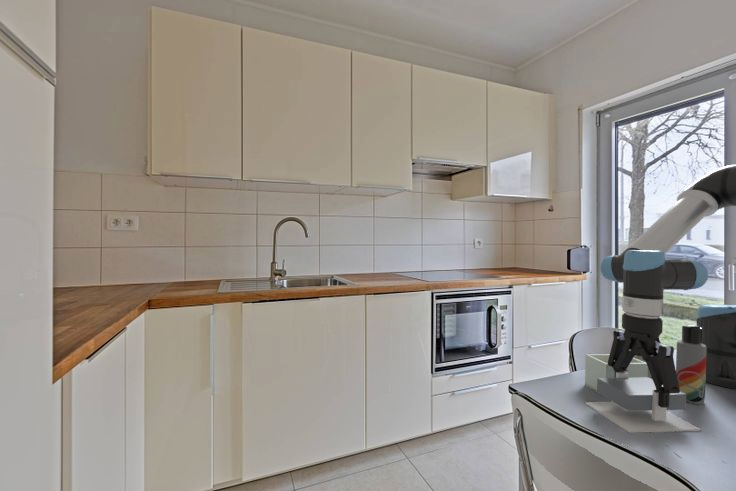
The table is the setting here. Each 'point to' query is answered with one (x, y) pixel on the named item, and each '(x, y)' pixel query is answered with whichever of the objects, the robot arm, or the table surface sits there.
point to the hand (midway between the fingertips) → (639, 408)
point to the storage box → (609, 369)
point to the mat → (640, 419)
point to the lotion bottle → (691, 364)
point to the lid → (636, 393)
